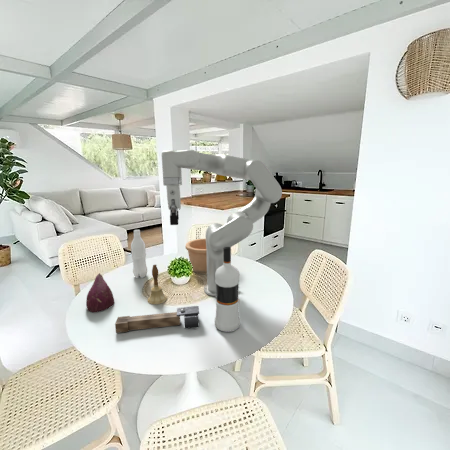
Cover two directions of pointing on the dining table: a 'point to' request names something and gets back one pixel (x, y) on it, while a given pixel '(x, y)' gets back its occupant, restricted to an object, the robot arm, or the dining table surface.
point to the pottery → (198, 255)
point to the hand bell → (156, 290)
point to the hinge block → (189, 316)
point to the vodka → (227, 294)
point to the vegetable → (99, 296)
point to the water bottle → (138, 255)
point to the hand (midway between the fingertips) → (174, 222)
